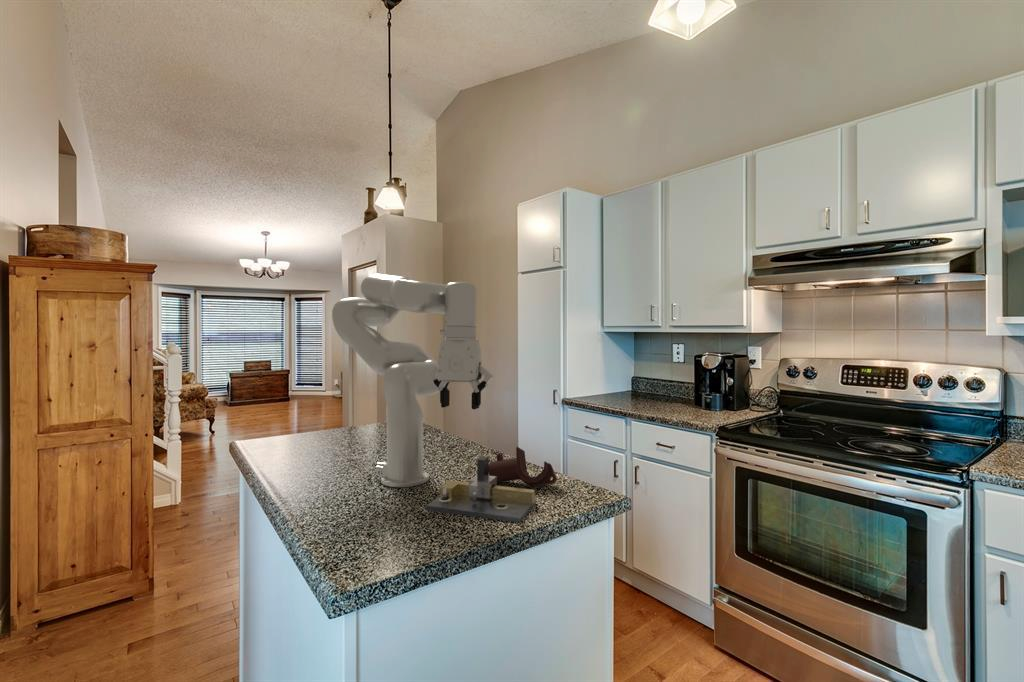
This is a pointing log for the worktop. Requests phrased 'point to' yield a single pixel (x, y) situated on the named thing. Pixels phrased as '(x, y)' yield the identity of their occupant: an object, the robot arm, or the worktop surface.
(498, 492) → the beam
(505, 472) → the bracket
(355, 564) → the worktop surface
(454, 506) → the hole plate
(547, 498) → the worktop surface
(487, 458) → the slider
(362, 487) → the worktop surface
